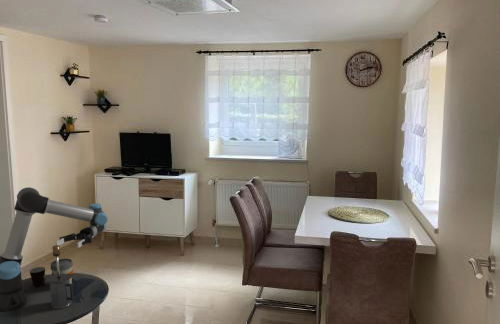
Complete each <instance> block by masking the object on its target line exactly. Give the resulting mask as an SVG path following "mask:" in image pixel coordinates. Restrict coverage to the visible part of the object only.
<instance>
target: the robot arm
mask: <svg viewBox="0 0 500 324" xmlns="http://www.w3.org/2000/svg"><path fill="white" fill-rule="evenodd" d="M102 209H103V208H102V205H101V203H91V204H89V205H88V208H87V207H83V206H78V205H74V204H70V203H64V202H61V201H56V200H51V199H50V197H47V196H43V195H41V194H40V193H39V191H38V189H36V188H34V187H24V188H22V189H20V190H19V192H17V194H16V201H15V205H14V211H15V212H16V213H15V214H14V215H15V216H14V219H13V222H12V226H11V228H10V232H9V235H8V239H7V242H6V247H5V250H4V251H3V252H1V253H0V311H1V312H7V311H8V312H9V311H13V310H17V309H20V308H21V307H23V306H25V305H26V304H28V295H27V294H26V293H25V289H24V288H23V279H22V268H21V266H22V262H23V257H24V256H23V254H22V252H23V248H24V245H25V241H26V238H27V236H28V232H29V228H30V224H31V221H32V218H33V215H35V214H41V215H45V214H51V215H55V216H60V217H65V218H68V219H69V218H70V219H74V220H75V219H76V220H79V221H84V222H89V225H88V226H86V227H84V228H82V229H80V231H79V232H78V233H75V232H73V233H70V234H67V235H64V236H61V237H60V236H59V237H58V238H59V239H58V240H57V241H55V245H59V246H61V245H63V244H65V243H66V242H70V241H78V242H76V245H77V249H78V248H81V247H83V246H84V245H86V244H92V242H93V239H94V238H95V236H98V235H99V234H101V233H102V232H105V230H106V228H107V225H106V224H107V223H108V220H109V219H108V215H107V213H105V212H104V211H103V210H102Z"/></svg>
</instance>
